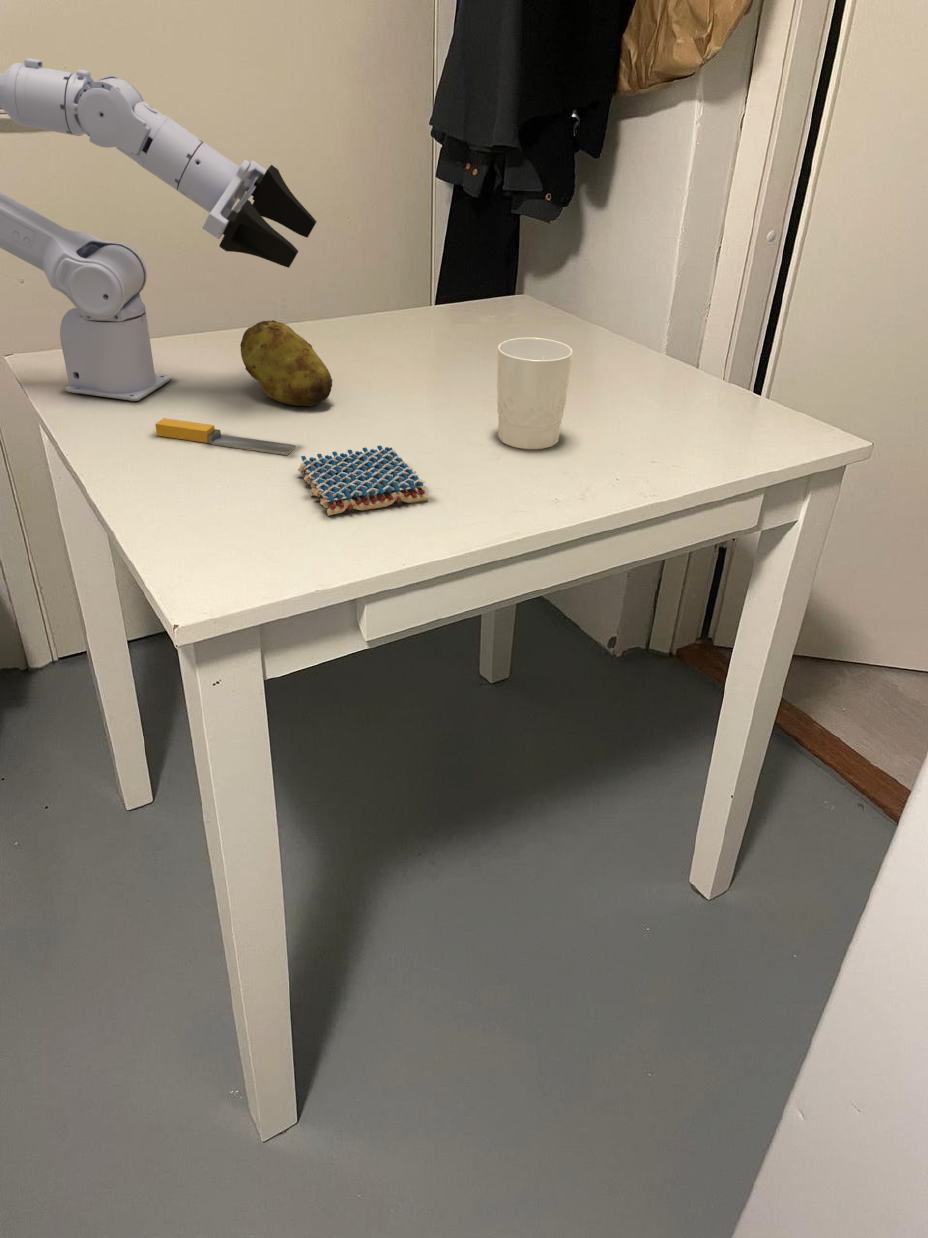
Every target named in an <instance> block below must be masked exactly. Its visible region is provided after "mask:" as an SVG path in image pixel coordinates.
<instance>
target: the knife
mask: <svg viewBox="0 0 928 1238" xmlns="http://www.w3.org/2000/svg"><path fill="white" fill-rule="evenodd" d="M155 431H156V436H157V437H164V438H170V439H171V438H172V439H178V440H185V441H191V442H199V443H205V444H209V445H212V446H219V447H226V448H233V449H240V450H246V451H254V452H260V453H261V452H262V453H268V454H273V455H281V456H288V455H289V454H290V453H291V452H293V450H295V449H296V445H295V444H292V443H291V444H290V443H283V442H276V441H268V440H261V439H255V438H247V437H241V436H235V435H234V436H233V435H226V434H221V429H217V428H215V424H209V423H203V422H195V421H188V420H180V419H173V418H166V417H163V418H161V419H160V420H159V421H157V422H156V423H155Z"/></svg>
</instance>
